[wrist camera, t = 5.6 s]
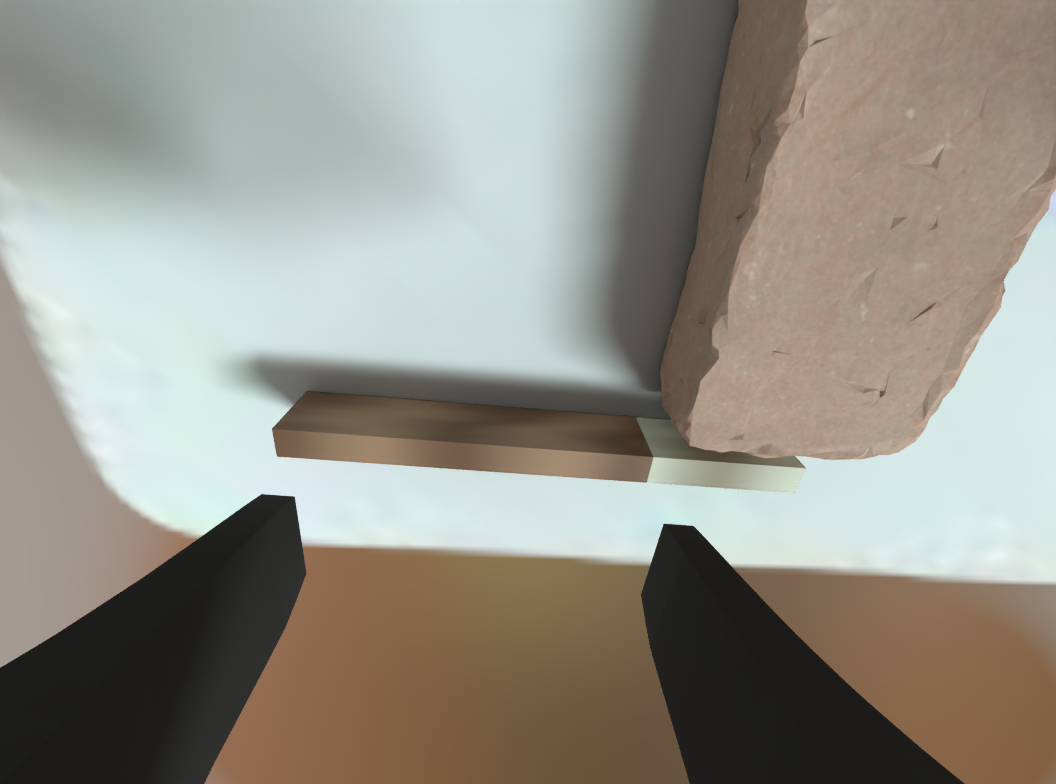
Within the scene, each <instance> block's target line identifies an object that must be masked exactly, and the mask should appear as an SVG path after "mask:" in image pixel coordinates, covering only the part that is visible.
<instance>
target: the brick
mask: <svg viewBox="0 0 1056 784" xmlns="http://www.w3.org/2000/svg"><path fill="white" fill-rule="evenodd" d="M1055 190H1056V0H738V16H737V19H736V22H735V26H734V29H733V32H732V35H731V39H730V44H729V50H728V55H727V61H726V67H725V71H724V75H723V79H722V85H721V90H720V95H719V101H718V108H717V116H716V122H715V128H714V133H713V138H712V143H711V148H710V152H709V157H708V162H707V166H706V172H705V178H704V184H703V190H702V196H701V202H700V209H699V217H698V228H697V237H696V245H695V249H694V251H693V253H692V256H691V259H690V263H689V266H688V270H687V275H686V281H685V285H684V287H683V290H682V293H681V297H680V301H679V304H678V308H677V311H676V314H675V317H674V320H673V323H672V326H671V329H670V333H669V336H668V340H667V344H666V348H665V352H664V356H663V359H662V363H661V366H660V378H661V394H662V405H663V409H664V410H665V412H666V413H667V414H668V415H669V417H670V418H671V422H672V424H673V425H674V427H675V428H676V429H677V431H678V432H679V434H680V435H681V436H682V437H683V438H684V439H685V440H686V442H687V443H688V444H689V446H693V447H697V448H700V449H704V450H713V451H717V452H721V453H723V452H728V451H738V452H746V453H748V454H750V455H753V456H758V457H762V458H776V457H784V456H807V457H814V458H821V459H829V460H840V459H865V458H869V457H874V456H878V455H890V454H893V453H897V452H900V451H901V450H903V449H904V448H906V447H907V446H909V445H910V444H912V443H913V442H915V441H916V440H917V439H918V438H919V437H920V435H921V434H922V432H923V431H924V429H925V427H926V425H927V423H928V421H929V418H930V417H931V416H932V415H933V414H934V413H935V412H936V411H937V409H938V407H939V405H940V403H941V401H942V399H943V398H944V397H945V396H946V395H947V394H948V393H949V391H950V390H951V389H952V388H953V387H954V386H955V384H956V382H957V380H958V378H959V376H960V374H961V372H962V370H963V368H964V366H965V364H966V362H967V361H968V359H969V357H970V356H971V354H972V352H973V351H974V349H975V347H976V345H977V343H978V341H979V339H980V337H981V335H982V334H983V332H984V331H985V329H986V328H987V326H988V325H989V324H990V322H991V321H992V319H993V318H994V316H995V315H996V313H997V312H998V310H999V309H1000V308H1001V301H1002V296H1003V294H1004V292H1005V287H1004V279H1005V277H1006V275H1007V273H1008V271H1009V270H1010V269H1011V268H1012V267H1013V266H1014V265H1015V264H1016V263H1017V262H1018V260H1019V258H1020V256H1021V254H1022V252H1023V250H1024V248H1025V246H1026V244H1027V242H1028V240H1029V238H1030V235H1031V233H1032V232H1033V230H1034V229H1035V227H1036V225H1037V224H1038V222H1039V221H1040V220H1041V219H1042V217H1043V216H1044V215H1045V213H1046V212H1047V211H1048V210H1049V204H1050V198H1051V195H1052V194H1053V192H1054V191H1055Z"/></svg>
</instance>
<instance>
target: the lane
mask: <svg viewBox="0 0 1056 784" xmlns="http://www.w3.org/2000/svg"><path fill="white" fill-rule="evenodd" d="M272 431H273V437H274V442H275V448H276V454H277V456H278V457H292V458H306V459H320V460H335V461H349V462H363V463H377V464H391V465H405V466H419V467H434V468H448V469H462V470H476V471H490V472H504V473H519V474H533V475H547V476H561V477H575V478H589V479H604V480H618V481H632V482H646V483H660V484H674V485H688V486H703V487H717V488H731V489H745V490H759V491H773V492H788V493H795V492H796V490H797V487H798V485H799V483H800V481H801V479H802V477H803V474H804V472H805V470H806V468H805V467H804V466H803V464H802V463H801V462H800V461H799V460H798V459H797V458H796V457H795V456H784V457H776V458H762V457H758V456H753V455H750V454H748V453H746V452H738V451H728V452H723V453H721V452H717V451H713V450H704V449H700V448H697V447H693V446H689V444H688V443H687V442H686V440H685V439H684V438H683V437H682V436H681V435H680V434H679V432H678V431H677V429H676V428H675V427H674V425H673V424H672V422H671V420H665V419H652V418H640V417H627V416H614V415H602V414H589V413H576V412H564V411H551V410H539V409H526V408H513V407H501V406H488V405H475V404H463V403H450V402H437V401H425V400H412V399H400V398H387V397H374V396H362V395H349V394H336V393H324V392H311V391H307V392H306V393H305V394H304V395H303V396H302V397H301V398H300V399H299V400H298V401H297V402H296V403H295V405H294V406H293V407H292V408H291V409H290V410H289V411H288V412H287V413H286V414H285V415H284V416H283V418H282V419H281V420H280V421H279V422H278V423H277V424H276V425H275V426H274V427H273V428H272Z"/></svg>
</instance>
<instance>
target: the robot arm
mask: <svg viewBox="0 0 1056 784" xmlns="http://www.w3.org/2000/svg"><path fill="white" fill-rule="evenodd" d="M1045 214H1054V215H1056V190H1055V191H1054V192H1053V194H1052V195H1051V198H1050V204H1049V210H1048V211H1047V212H1046V213H1045ZM305 576H306V569H305V562H304V555H303V548H302V542H301V535H300V529H299V522H298V516H297V509H296V503H295V497H292V496H278V495H265V494H261V495H260V496H258V497H257V498H255V499H254V500H252V501H251V502H250V503H248V504H247V505H245V506H244V507H242V508H241V509H240V510H238V511H237V512H235V513H234V514H233V515H231V516H230V517H228V518H227V519H226V520H224V521H223V522H221V523H220V524H219V525H217V526H216V527H214V528H213V529H212V530H210V531H209V532H207V533H206V534H205V535H203V536H202V537H200V538H199V539H198V540H196V541H195V542H193V543H192V544H190V545H189V546H188V547H186V548H185V549H183V550H182V551H180V552H179V553H178V554H176V555H175V556H173V557H172V558H171V559H169V560H168V561H166V562H165V563H163V564H162V565H160V566H159V567H158V568H156V569H155V570H153V571H152V572H151V573H149V574H148V575H146V576H145V577H143V578H142V579H140V580H139V581H137V582H136V583H134V584H133V585H131V586H130V587H128V588H127V589H125V590H123V591H122V592H120V593H119V594H117V595H116V596H114V597H113V598H111V599H110V600H108V601H107V602H105V603H103V604H102V605H100V606H99V607H97V608H96V609H94V610H93V611H92V612H90V613H88V614H87V615H85V616H83V617H82V618H80V619H79V620H77V621H76V622H74V623H73V624H71V625H70V626H68V627H67V628H65V629H63V630H62V631H61V632H59V633H57V634H56V635H54V636H52V637H51V638H49V639H47V640H46V641H44V642H43V643H41V644H39V645H38V646H36V647H35V648H33V649H31V650H29V651H28V652H26V653H25V654H23V655H21V656H19V657H18V658H16V659H14V660H13V661H11V662H10V663H8V664H6V665H4V666H3V667H1V668H0V784H204V783H205V781H206V778H207V777H208V775H209V772H210V771H211V768H212V766H213V764H214V762H215V760H216V759H217V757H218V755H219V753H220V751H221V749H222V747H223V745H224V743H225V742H226V740H227V738H228V736H229V734H230V732H231V730H232V728H233V726H234V724H235V723H236V721H237V719H238V717H239V715H240V713H241V711H242V709H243V707H244V706H245V704H246V702H247V700H248V698H249V696H250V694H251V692H252V690H253V689H254V687H255V685H256V683H257V681H258V679H259V677H260V675H261V673H262V672H263V670H264V668H265V666H266V664H267V662H268V660H269V658H270V656H271V654H272V652H273V650H274V649H275V647H276V645H277V643H278V641H279V639H280V637H281V635H282V633H283V631H284V629H285V627H286V625H287V622H288V620H289V617H290V615H291V612H292V610H293V607H294V605H295V602H296V600H297V597H298V594H299V592H300V589H301V586H302V584H303V581H304V578H305ZM641 597H642V603H643V609H644V616H645V622H646V627H647V633H648V638H649V644H650V648H651V652H652V656H653V659H654V663H655V666H656V670H657V673H658V676H659V680H660V683H661V687H662V690H663V694H664V697H665V700H666V704H667V707H668V711H669V714H670V717H671V721H672V724H673V728H674V731H675V734H676V738H677V741H678V745H679V748H680V751H681V755H682V758H683V761H684V765H685V769H686V772H687V775H688V778H689V782H690V784H964V783H963V782H962V781H961V780H959V779H958V778H957V777H955V776H954V775H953V774H952V773H950V772H949V771H948V770H947V769H946V768H944V767H943V766H942V765H941V764H940V763H938V762H937V761H936V760H935V759H933V758H932V757H931V756H930V755H929V754H927V753H926V752H925V751H924V750H922V749H921V748H920V747H919V746H918V745H917V744H915V743H914V742H913V741H912V740H911V739H910V738H909V737H907V736H906V735H905V734H904V733H903V732H901V730H899V729H898V728H897V727H896V726H895V725H894V724H892V723H891V722H890V721H889V720H888V719H887V718H886V717H884V716H883V715H882V714H881V713H880V712H879V711H877V710H876V709H875V708H874V707H873V706H872V705H870V704H869V703H868V702H867V701H866V700H865V699H864V698H863V697H862V696H861V695H859V694H858V693H857V692H856V691H855V690H854V689H853V688H852V687H851V686H849V685H848V684H847V683H846V682H845V681H844V680H843V679H842V678H841V677H840V676H839V675H838V674H837V673H836V672H835V671H834V670H833V669H832V668H830V667H829V666H828V665H827V664H826V663H825V662H824V661H823V660H822V659H821V658H820V657H819V656H818V655H817V654H816V653H815V652H814V651H813V650H812V649H811V648H810V647H809V646H807V645H806V643H805V642H803V640H801V639H800V638H799V637H798V636H797V635H796V634H795V633H794V632H793V631H792V630H791V629H790V628H789V627H788V626H787V624H785V622H784V621H782V619H781V618H780V617H779V616H778V615H777V614H776V613H775V612H774V611H773V610H772V609H771V608H770V607H769V606H768V605H767V604H766V603H765V602H764V601H763V600H762V599H761V598H760V597H759V595H758V594H757V593H756V592H755V591H754V590H753V589H752V588H751V587H750V586H749V585H748V584H747V583H746V582H745V581H744V580H743V578H742V577H741V576H740V575H739V574H738V573H737V572H736V571H735V570H734V569H733V568H732V567H731V565H730V564H729V563H728V562H727V561H726V560H725V559H724V558H723V557H722V556H721V555H720V554H719V552H718V551H717V550H716V549H715V548H714V547H713V546H712V545H711V544H710V543H709V542H708V541H707V540H706V538H705V537H704V536H703V535H702V534H701V533H700V532H699V531H698V530H697V529H696V528H695V527H694V526H687V525H673V524H664V525H663V528H662V531H661V534H660V537H659V540H658V543H657V547H656V550H655V553H654V556H653V559H652V562H651V565H650V569H649V572H648V575H647V578H646V581H645V584H644V587H643V590H642V593H641Z"/></svg>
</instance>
